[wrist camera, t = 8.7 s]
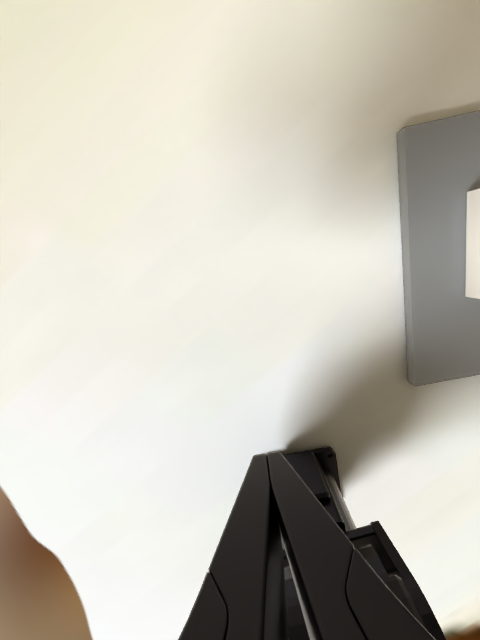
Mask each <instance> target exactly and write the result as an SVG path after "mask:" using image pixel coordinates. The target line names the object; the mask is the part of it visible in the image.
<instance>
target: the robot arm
mask: <svg viewBox="0 0 480 640" xmlns="http://www.w3.org/2000/svg"><path fill="white" fill-rule="evenodd" d="M328 453H330V454H328ZM370 524H371V525H367V526H363V527H360V528H356V527H355V524H354V522H353V520H352V518H351V515H350V513H349V511H348V509H347V506H346V504H345V502H344V499H343V497H342V495H341V491H340V483H339V476H338V468H337V461H336V454H335V452H334V450H333V449H332V448H331V447H326V448H320V449H315V450H309V451H304V452H298V453H292V454H287V455H282V453H281V452H280V451H275V452H269V453H267V455H266V454H265V453H263V454H258V455H254V456H253V458H252V461H251V463H250V466H249V468H248V471H247V473H246V476H245V478H244V481H243V483H242V486H241V488H240V491H239V493H238V496H237V498H236V501H235V503H234V506H233V509H232V511H231V514H230V516H229V519H228V521H227V524H226V526H225V529H224V531H223V534H222V536H221V539H220V541H219V544H218V546H217V549H216V551H215V554H214V557H213V559H212V562H211V564H210V567H209V572H207V574H206V576H205V579H204V581H203V584H202V587H201V589H200V592H199V594H198V596H197V599H196V601H195V603H194V606H193V608H192V610H191V613H190V615H189V618H188V620H187V622H186V624H185V626H184V628H183V631H182V633H181V635H180V637H179V639H178V640H446V639H445V636H444V634H443V632H442V630H441V628H440V626H439V624H438V622H437V620H436V618H435V615H434V613H433V611H432V610H431V608H430V606H429V604H428V602H427V600H426V598H425V596H424V594H423V593H422V591H421V589H420V587H419V585H418V584H417V582H416V580H415V579H414V577H413V575H412V574H411V572H410V571H409V569H408V567H407V566H406V564H405V563H404V561H403V559H402V558H401V556H400V555H399V553H398V551H397V550H396V548H395V547H394V545H393V543H392V542H391V540H390V539H389V537H388V536H387V534H386V532H385V531H384V529H383V528H382V526H381V524H380V523H379V521H375V522H371V523H370Z"/></svg>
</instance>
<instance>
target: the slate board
mask: <svg viewBox="0 0 480 640" xmlns="http://www.w3.org/2000/svg"><path fill="white" fill-rule="evenodd" d="M397 150H398V172H399V194H400V216H401V238H402V260H403V282H404V304H405V327H406V349H407V371H408V382H409V383H411V384H412V385H413V386H420V385H425V384H431V383H436V382H442V381H447V380H453V379H458V378H463V377H469V376H474V375H480V299H477V298H471V297H465V288H466V218H467V192H469V191H472V190H476V189H479V188H480V111H476V112H471V113H467V114H462V115H458V116H453V117H449V118H445V119H440V120H436V121H431V122H427V123H422V124H418V125H413V126H409V127H405V128H403V129H402V130H401V131H400V132H398V133H397Z"/></svg>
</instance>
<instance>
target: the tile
mask: <svg viewBox="0 0 480 640" xmlns="http://www.w3.org/2000/svg"><path fill="white" fill-rule="evenodd" d="M465 297H471V298H477V299H480V188H479V189H476V190H472V191H469V192H467V218H466V288H465Z"/></svg>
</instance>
